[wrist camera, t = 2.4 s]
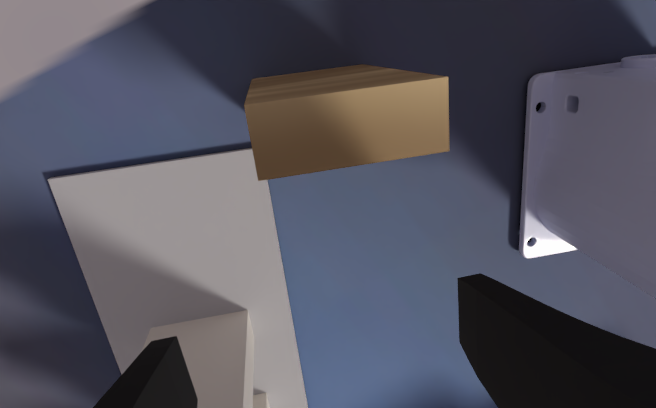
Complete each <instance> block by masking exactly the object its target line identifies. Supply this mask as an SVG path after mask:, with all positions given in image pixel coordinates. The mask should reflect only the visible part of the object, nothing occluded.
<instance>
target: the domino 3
mask: <svg viewBox="0 0 656 408" xmlns="http://www.w3.org/2000/svg"><path fill="white" fill-rule="evenodd" d="M253 408H270V407H269V402H268V398H267V393H262V394H258V395H253Z"/></svg>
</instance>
